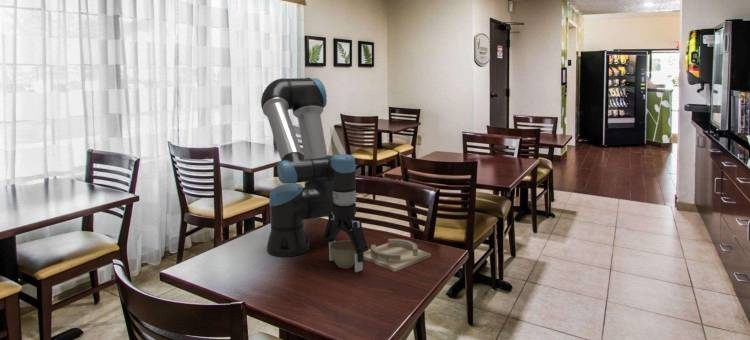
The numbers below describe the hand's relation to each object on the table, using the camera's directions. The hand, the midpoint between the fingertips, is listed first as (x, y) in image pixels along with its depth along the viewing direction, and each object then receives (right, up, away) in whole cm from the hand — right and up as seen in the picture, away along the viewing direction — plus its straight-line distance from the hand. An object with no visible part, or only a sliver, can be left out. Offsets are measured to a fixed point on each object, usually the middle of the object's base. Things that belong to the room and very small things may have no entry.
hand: (345, 265), depth 164 cm
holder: (+16, +2, +7) cm, 18 cm away
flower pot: (0, 0, 0) cm, 0 cm away
